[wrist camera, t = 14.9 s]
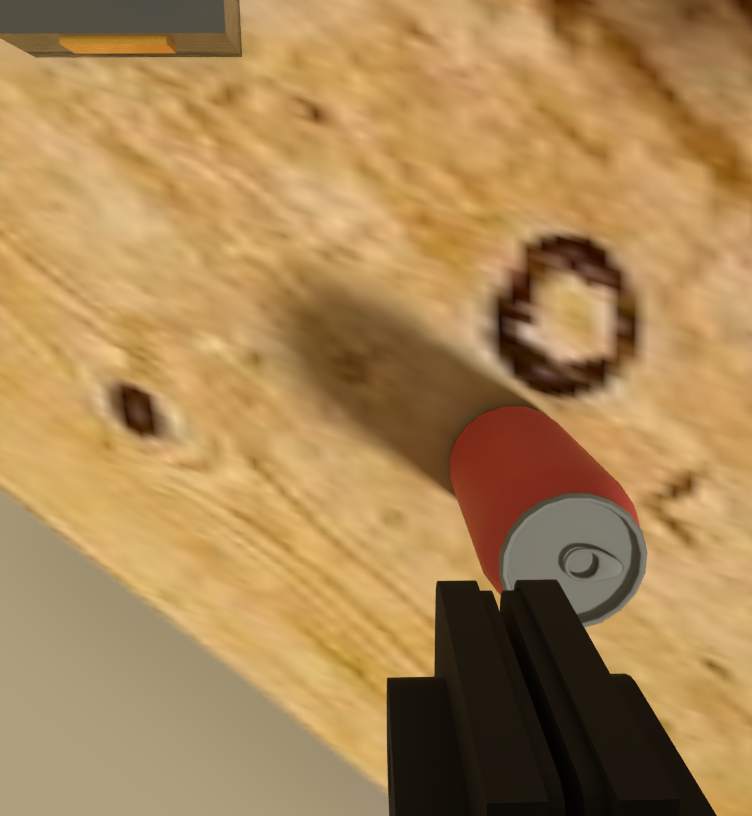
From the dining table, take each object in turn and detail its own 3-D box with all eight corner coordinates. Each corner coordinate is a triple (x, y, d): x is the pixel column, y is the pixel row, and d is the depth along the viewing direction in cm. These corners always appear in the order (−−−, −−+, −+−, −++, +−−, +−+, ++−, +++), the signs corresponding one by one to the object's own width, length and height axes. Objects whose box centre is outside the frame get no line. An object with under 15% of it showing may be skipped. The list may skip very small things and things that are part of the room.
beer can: (555, 526, 39) (637, 653, 27) (437, 510, 38) (470, 631, 27) (582, 412, 37) (682, 494, 25) (459, 394, 37) (504, 469, 25)
